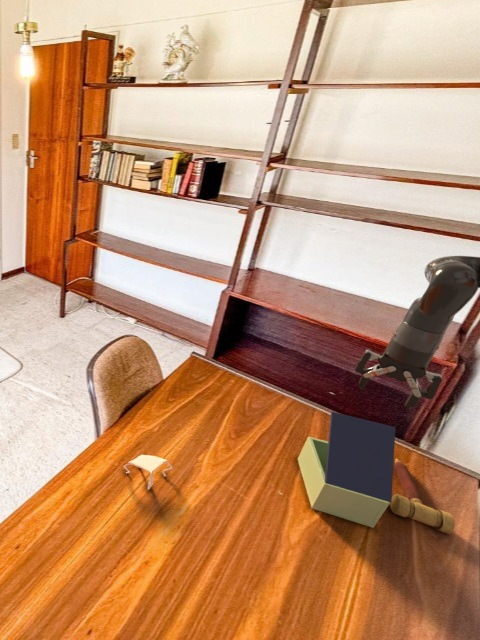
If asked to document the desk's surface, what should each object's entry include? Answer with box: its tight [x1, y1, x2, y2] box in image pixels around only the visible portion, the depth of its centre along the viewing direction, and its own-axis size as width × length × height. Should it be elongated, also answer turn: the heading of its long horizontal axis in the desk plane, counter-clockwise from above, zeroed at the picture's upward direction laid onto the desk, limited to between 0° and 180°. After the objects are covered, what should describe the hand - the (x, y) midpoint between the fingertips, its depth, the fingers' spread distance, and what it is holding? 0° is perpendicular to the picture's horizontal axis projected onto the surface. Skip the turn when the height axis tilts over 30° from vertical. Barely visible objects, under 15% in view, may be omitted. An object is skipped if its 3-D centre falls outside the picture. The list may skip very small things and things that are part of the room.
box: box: [297, 436, 391, 529], centre depth 99 cm, size 16×13×9 cm
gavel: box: [390, 458, 456, 534], centre depth 101 cm, size 21×5×10 cm
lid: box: [325, 411, 396, 503], centre depth 93 cm, size 17×13×1 cm
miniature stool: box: [122, 454, 174, 491], centre depth 102 cm, size 12×8×5 cm
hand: (383, 396), depth 96 cm, fingers open, 8 cm apart
